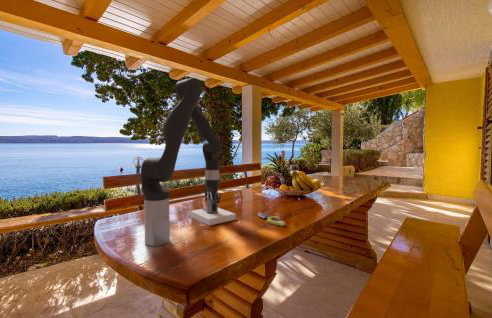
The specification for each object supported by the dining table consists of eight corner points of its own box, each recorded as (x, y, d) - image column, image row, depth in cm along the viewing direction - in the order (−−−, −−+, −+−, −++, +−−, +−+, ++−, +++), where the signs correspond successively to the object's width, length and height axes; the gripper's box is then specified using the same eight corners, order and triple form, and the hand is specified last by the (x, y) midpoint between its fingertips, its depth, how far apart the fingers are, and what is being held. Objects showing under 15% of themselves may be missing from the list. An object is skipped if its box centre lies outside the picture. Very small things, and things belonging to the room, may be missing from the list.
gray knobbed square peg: (217, 213, 126) (217, 195, 126) (211, 214, 124) (210, 196, 123) (213, 212, 129) (213, 194, 129) (207, 213, 127) (207, 195, 126)
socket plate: (235, 219, 124) (235, 212, 124) (208, 225, 114) (208, 218, 114) (215, 211, 139) (215, 205, 139) (190, 216, 129) (190, 209, 129)
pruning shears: (251, 215, 133) (276, 228, 111) (251, 210, 133) (276, 222, 111) (263, 213, 137) (290, 226, 114) (263, 209, 137) (290, 220, 114)
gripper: (199, 177, 129) (199, 208, 130) (213, 180, 118) (213, 214, 119) (211, 176, 134) (211, 206, 134) (225, 179, 123) (225, 211, 123)
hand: (212, 210), depth 126 cm, fingers closed on gray knobbed square peg, 3 cm apart
